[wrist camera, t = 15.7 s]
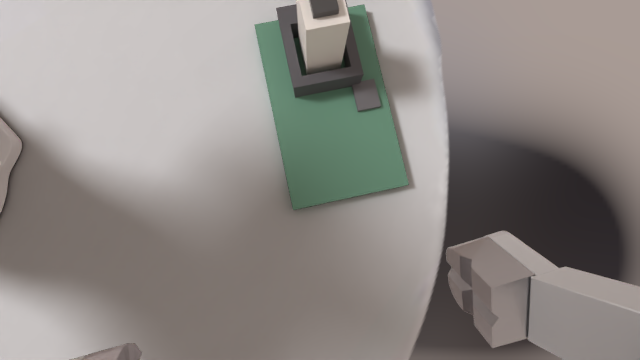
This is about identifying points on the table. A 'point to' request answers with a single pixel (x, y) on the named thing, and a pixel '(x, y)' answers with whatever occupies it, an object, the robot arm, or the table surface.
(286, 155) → the board
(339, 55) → the plug
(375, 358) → the table surface
